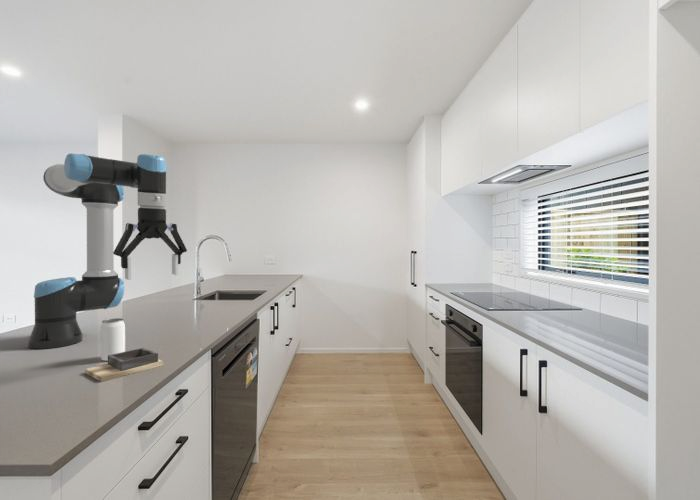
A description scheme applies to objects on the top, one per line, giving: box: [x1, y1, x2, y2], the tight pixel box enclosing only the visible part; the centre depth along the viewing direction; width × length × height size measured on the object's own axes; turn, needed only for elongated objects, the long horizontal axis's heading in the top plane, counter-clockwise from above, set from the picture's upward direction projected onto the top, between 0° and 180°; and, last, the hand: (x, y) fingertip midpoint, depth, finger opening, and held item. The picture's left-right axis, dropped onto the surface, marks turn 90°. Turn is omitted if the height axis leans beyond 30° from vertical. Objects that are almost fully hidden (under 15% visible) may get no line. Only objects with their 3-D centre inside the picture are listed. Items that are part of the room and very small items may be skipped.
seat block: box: [84, 347, 164, 383], centre depth 103 cm, size 11×16×4 cm
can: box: [99, 318, 126, 362], centre depth 113 cm, size 6×6×12 cm
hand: (152, 276), depth 111 cm, fingers open, 13 cm apart
